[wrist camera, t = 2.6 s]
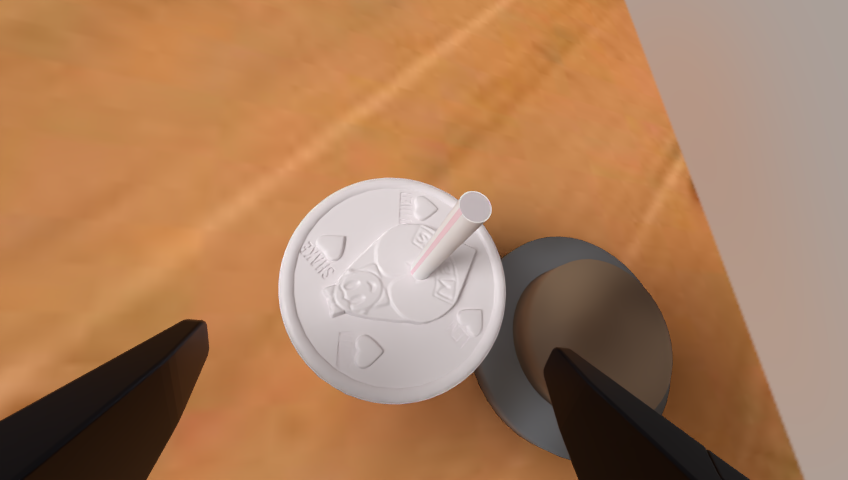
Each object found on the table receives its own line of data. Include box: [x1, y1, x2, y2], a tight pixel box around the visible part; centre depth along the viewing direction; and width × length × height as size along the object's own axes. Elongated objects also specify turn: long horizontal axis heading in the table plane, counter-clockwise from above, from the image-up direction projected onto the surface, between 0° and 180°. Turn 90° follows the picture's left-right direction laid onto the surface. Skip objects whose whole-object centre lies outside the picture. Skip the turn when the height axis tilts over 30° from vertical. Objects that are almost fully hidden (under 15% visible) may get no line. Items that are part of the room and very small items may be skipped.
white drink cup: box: [279, 178, 506, 404], centre depth 12 cm, size 6×6×14 cm
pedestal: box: [474, 237, 673, 460], centre depth 18 cm, size 12×12×4 cm
